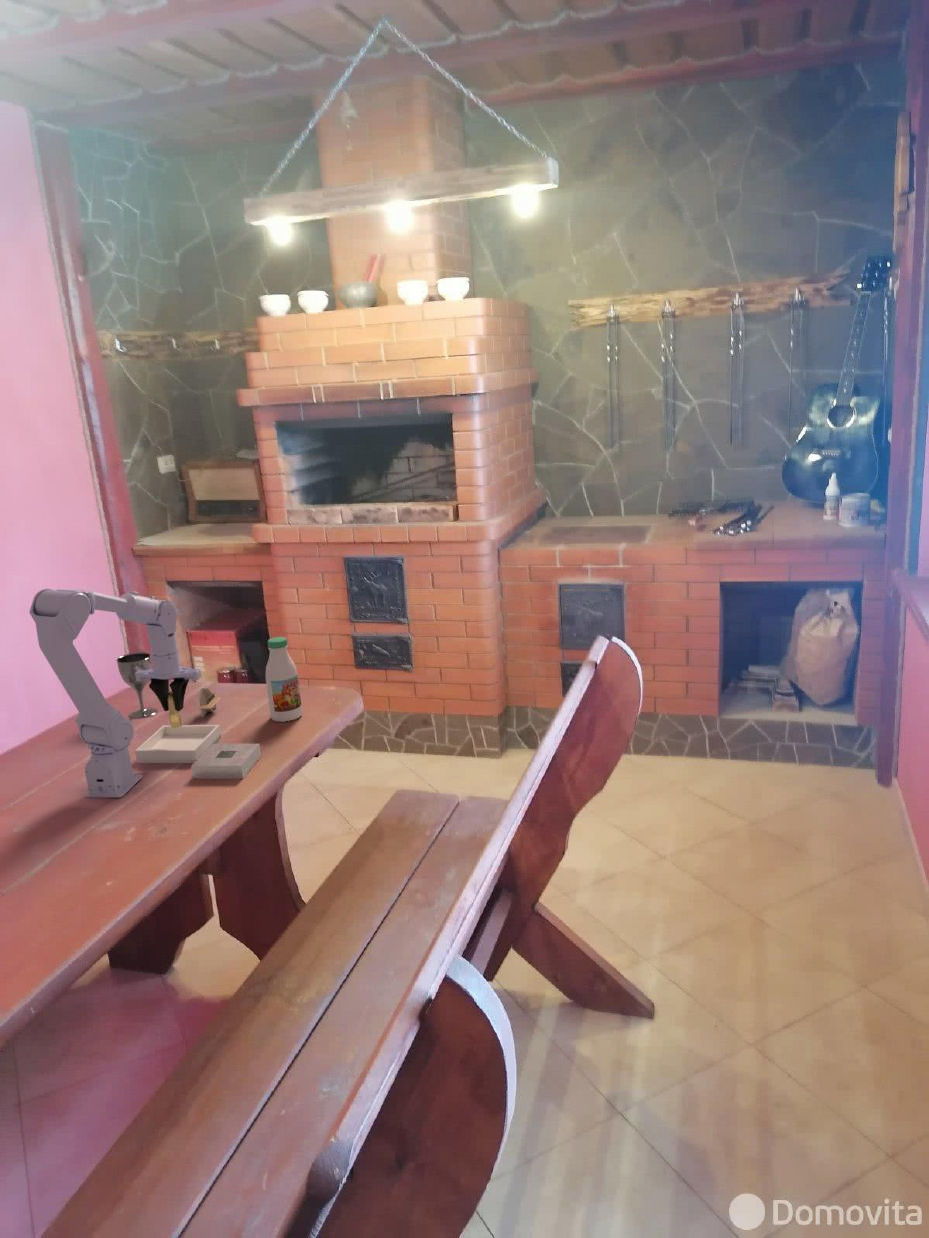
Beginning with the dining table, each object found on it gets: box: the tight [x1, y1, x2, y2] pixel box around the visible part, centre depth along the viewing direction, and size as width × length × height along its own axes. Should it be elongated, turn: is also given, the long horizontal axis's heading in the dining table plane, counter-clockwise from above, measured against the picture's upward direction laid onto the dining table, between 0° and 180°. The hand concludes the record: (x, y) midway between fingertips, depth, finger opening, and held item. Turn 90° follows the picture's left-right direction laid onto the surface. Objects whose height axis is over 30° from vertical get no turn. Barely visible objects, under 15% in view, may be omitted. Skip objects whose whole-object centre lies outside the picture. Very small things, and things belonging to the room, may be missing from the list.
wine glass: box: [116, 651, 159, 720], centre depth 227 cm, size 8×8×15 cm
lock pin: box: [166, 690, 183, 728], centre depth 203 cm, size 2×2×8 cm
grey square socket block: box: [191, 743, 262, 780], centre depth 194 cm, size 11×11×3 cm
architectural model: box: [197, 683, 221, 718], centre depth 225 cm, size 3×7×7 cm, turn 176°
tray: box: [134, 724, 222, 764], centre depth 205 cm, size 14×14×3 cm
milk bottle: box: [265, 636, 303, 723], centre depth 218 cm, size 8×8×20 cm
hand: (173, 709), depth 203 cm, fingers closed on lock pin, 2 cm apart
